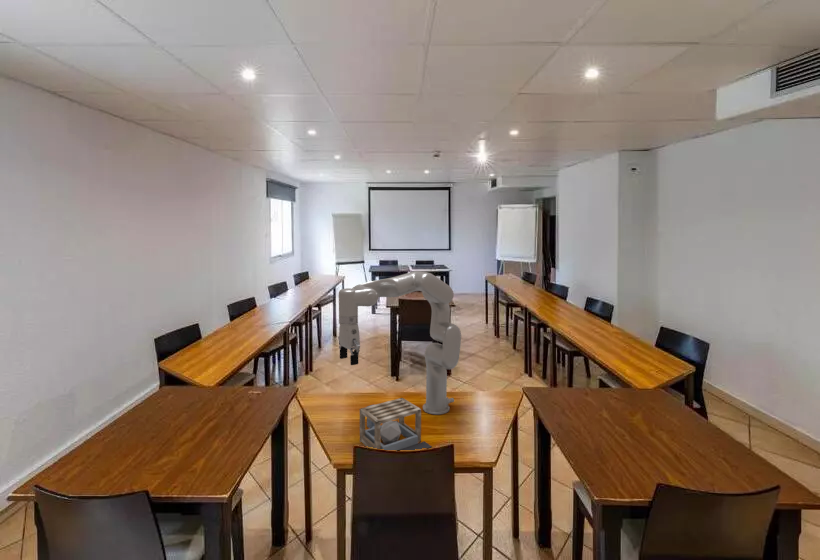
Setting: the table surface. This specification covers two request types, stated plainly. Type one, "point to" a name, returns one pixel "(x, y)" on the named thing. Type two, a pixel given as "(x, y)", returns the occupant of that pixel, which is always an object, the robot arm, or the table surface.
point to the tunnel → (389, 418)
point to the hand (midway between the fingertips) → (348, 361)
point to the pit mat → (418, 446)
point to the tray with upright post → (408, 441)
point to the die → (390, 432)
